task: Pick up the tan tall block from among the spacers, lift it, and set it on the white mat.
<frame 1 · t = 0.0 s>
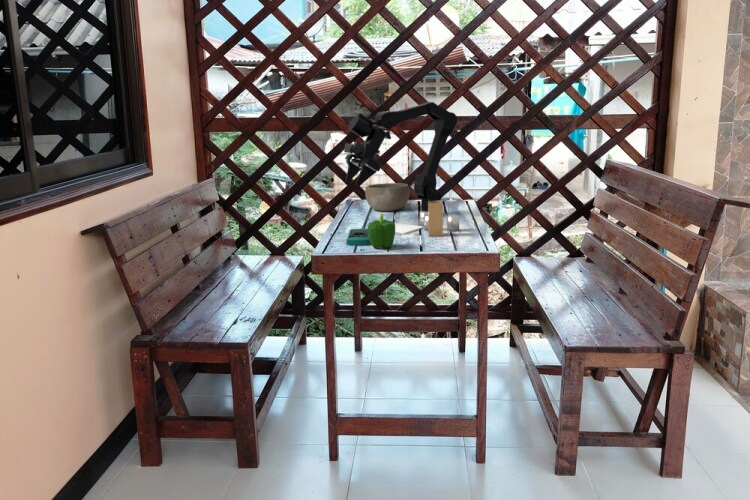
hand: (351, 183, 229), 15 cm above the table, tool tilted 35°, fingers open, 9 cm apart
tan tall block: (435, 235, 212), on the table
white mat: (397, 229, 223), on the table
spacer 3: (425, 225, 227), on the table
bell pepper: (382, 247, 198), on the table
bowl: (387, 210, 261), on the table
spacer 1: (453, 230, 218), on the table
spacer 2: (430, 229, 220), on the table
digital multimeter: (359, 242, 208), on the table
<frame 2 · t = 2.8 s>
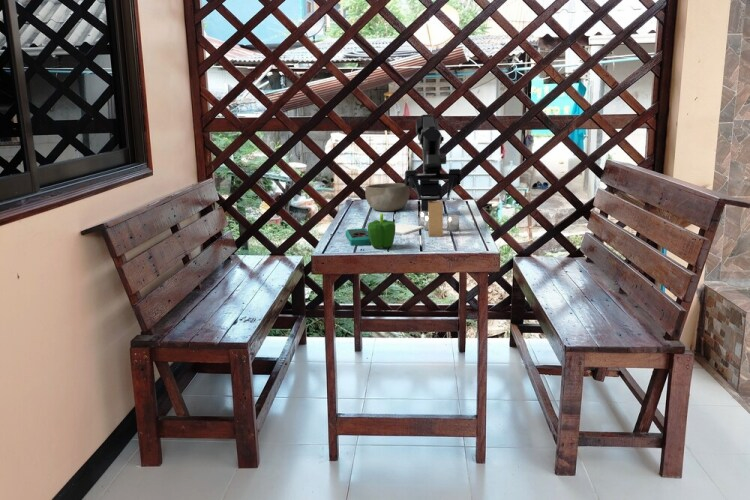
hand: (434, 197, 214), 11 cm above the table, tool tilted 45°, fingers open, 9 cm apart
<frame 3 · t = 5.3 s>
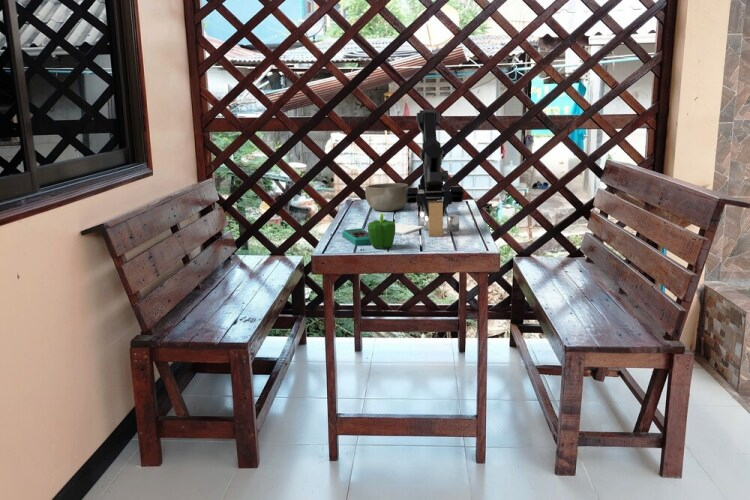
hand: (435, 216, 209), 7 cm above the table, tool tilted 45°, fingers closed on tan tall block, 4 cm apart
tan tall block: (435, 235, 212), on the table, touching gripper
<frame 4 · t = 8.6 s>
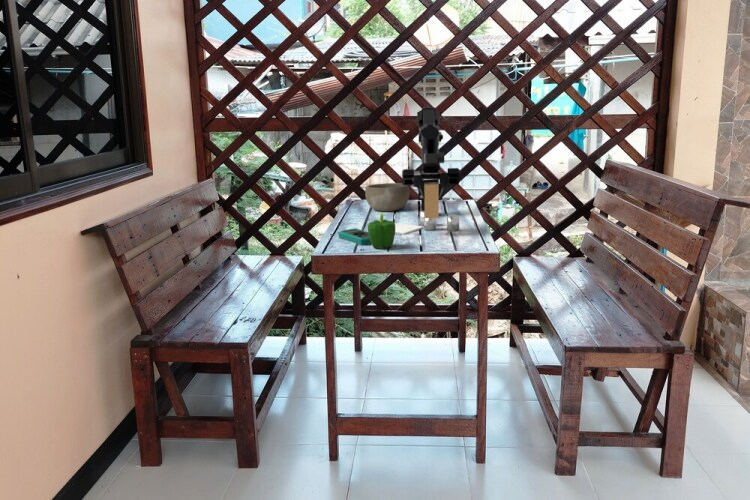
hand: (431, 197, 208), 12 cm above the table, tool tilted 45°, fingers closed on tan tall block, 4 cm apart
tan tall block: (431, 217, 211), point 6 cm above the table, touching gripper
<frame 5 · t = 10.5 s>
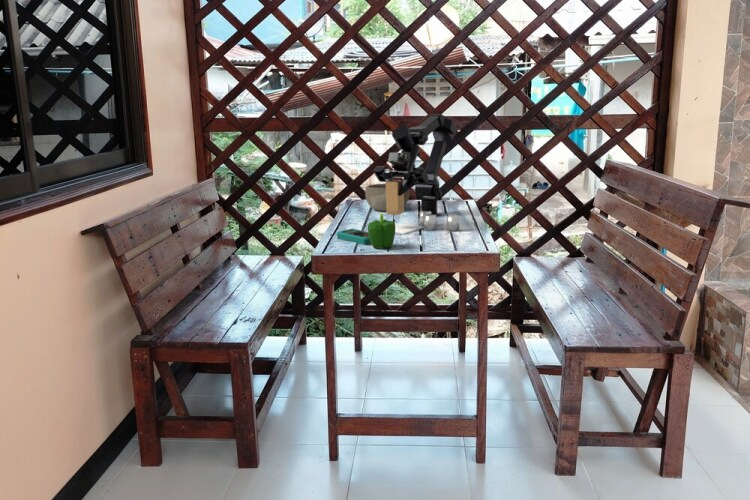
hand: (392, 194, 218), 12 cm above the table, tool tilted 45°, fingers closed on tan tall block, 4 cm apart
tan tall block: (395, 213, 221), point 6 cm above the table, touching gripper
when the fingers open (8 cm above the table, at t = 12.0 s): tan tall block stays where it is, resting on white mat.
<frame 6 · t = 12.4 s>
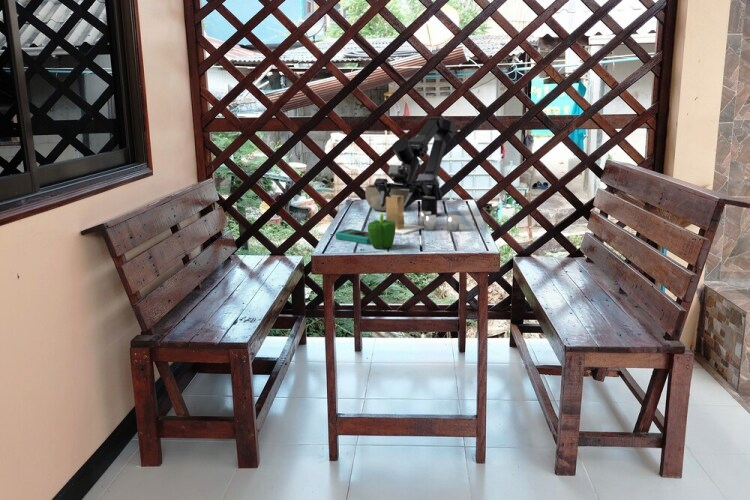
hand: (393, 207, 219), 8 cm above the table, tool tilted 45°, fingers open, 8 cm apart
tan tall block: (395, 228, 222), point 1 cm above the table, touching white mat
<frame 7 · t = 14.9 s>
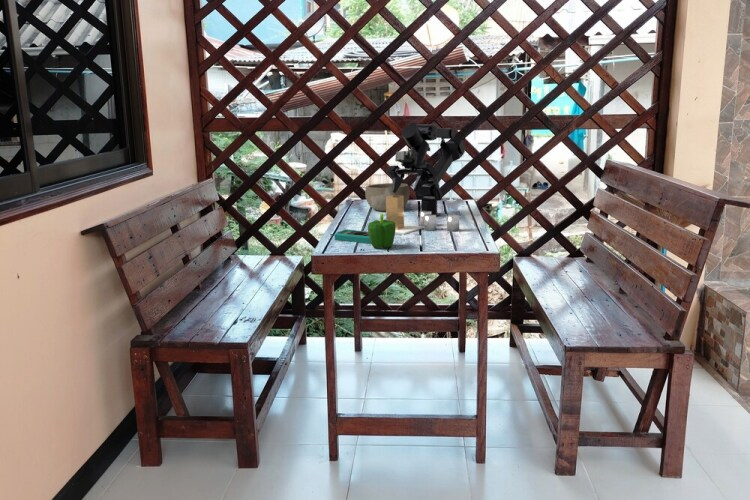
hand: (403, 191, 227), 12 cm above the table, tool tilted 40°, fingers open, 9 cm apart
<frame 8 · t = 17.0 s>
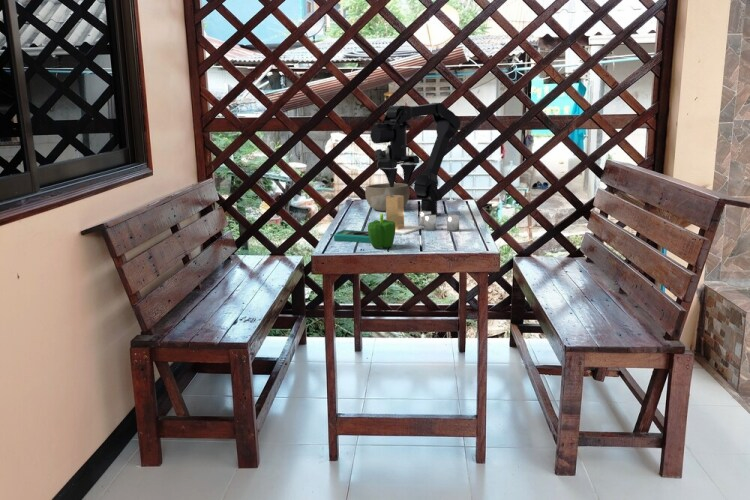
hand: (399, 185, 233), 13 cm above the table, tool pointing down, fingers open, 9 cm apart
at the end: tan tall block inside the target area on the white mat (0.9 cm from its centre), point 0.5 cm above the white mat's base; tan tall block tilted 0°; the gripper is holding nothing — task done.
